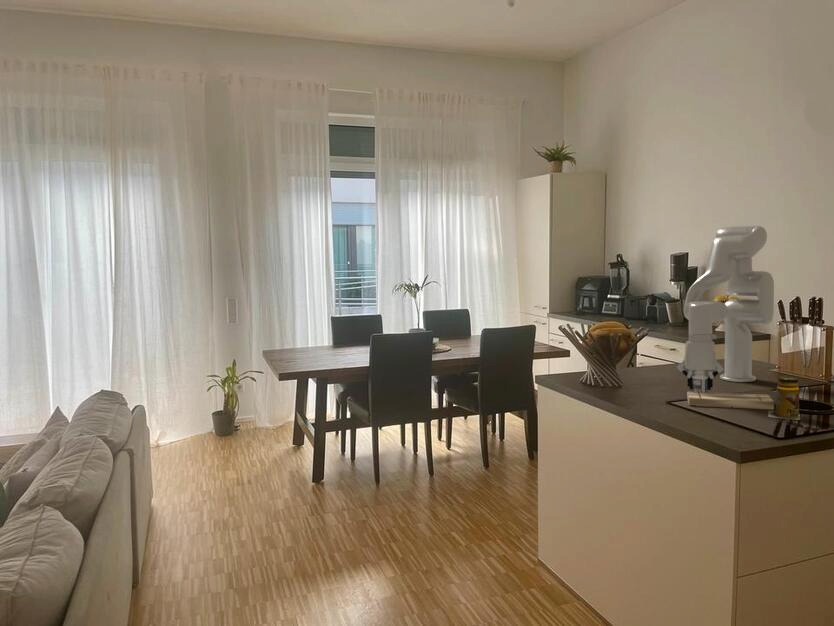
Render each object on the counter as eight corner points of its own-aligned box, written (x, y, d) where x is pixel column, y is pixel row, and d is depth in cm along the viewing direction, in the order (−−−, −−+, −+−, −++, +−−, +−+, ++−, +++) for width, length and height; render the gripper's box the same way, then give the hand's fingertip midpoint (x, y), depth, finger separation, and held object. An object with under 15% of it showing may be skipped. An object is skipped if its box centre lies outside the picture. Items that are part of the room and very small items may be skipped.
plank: (687, 398, 220) (687, 391, 219) (768, 402, 211) (768, 394, 211) (689, 405, 210) (689, 397, 210) (773, 409, 202) (774, 401, 202)
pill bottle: (703, 392, 225) (703, 367, 224) (710, 395, 220) (711, 370, 219) (689, 392, 225) (689, 368, 224) (695, 396, 220) (696, 371, 219)
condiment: (800, 420, 189) (801, 381, 188) (768, 417, 193) (768, 379, 192) (799, 414, 195) (800, 376, 194) (768, 411, 200) (769, 374, 198)
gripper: (726, 337, 221) (725, 387, 223) (673, 336, 227) (673, 385, 229) (728, 340, 214) (727, 392, 216) (674, 339, 220) (674, 390, 222)
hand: (699, 388), depth 222 cm, fingers closed on pill bottle, 5 cm apart
